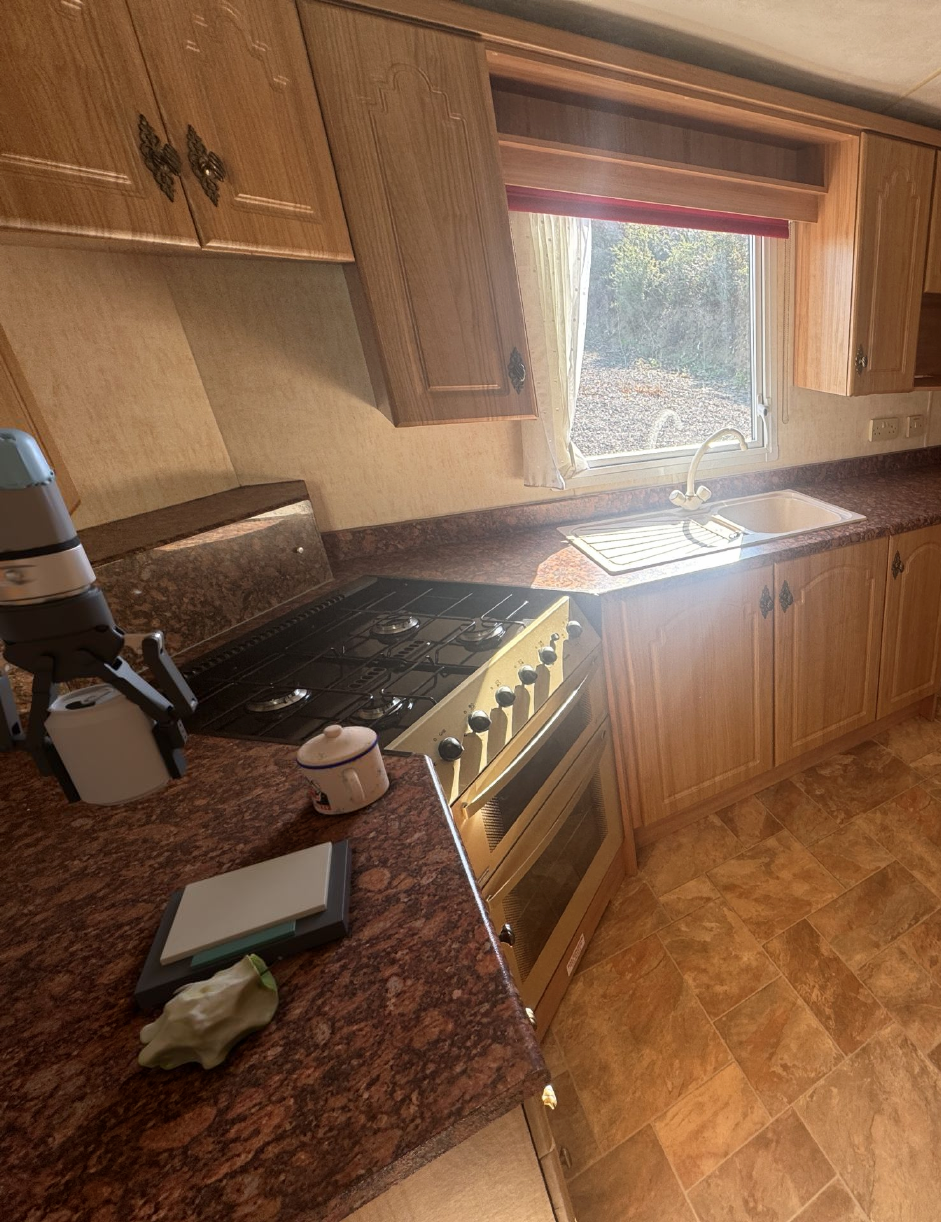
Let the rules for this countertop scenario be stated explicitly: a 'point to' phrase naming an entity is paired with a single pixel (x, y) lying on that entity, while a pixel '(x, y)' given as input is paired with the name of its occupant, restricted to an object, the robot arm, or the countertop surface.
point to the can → (106, 745)
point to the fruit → (211, 1016)
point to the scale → (248, 918)
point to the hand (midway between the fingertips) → (130, 783)
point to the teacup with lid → (343, 769)
